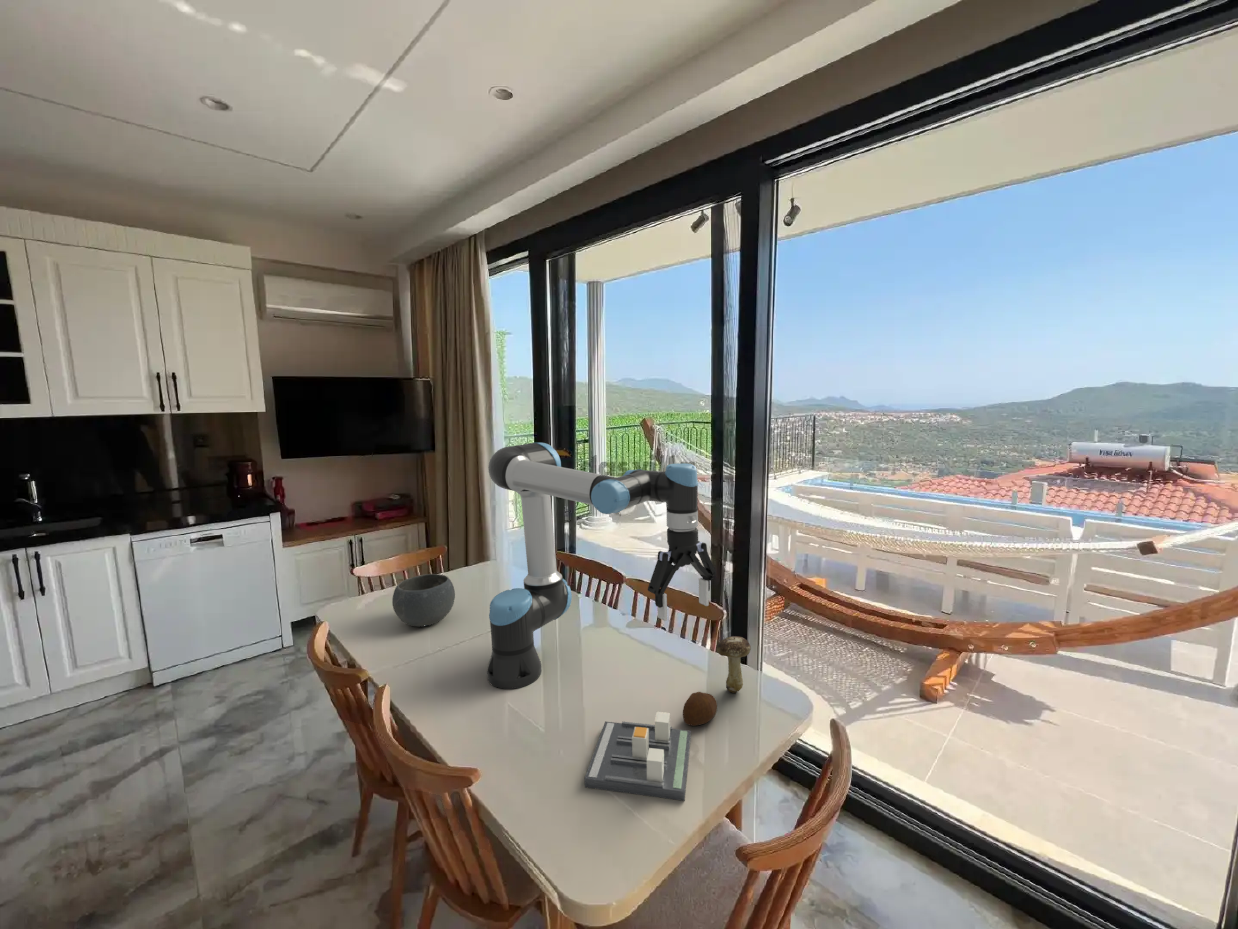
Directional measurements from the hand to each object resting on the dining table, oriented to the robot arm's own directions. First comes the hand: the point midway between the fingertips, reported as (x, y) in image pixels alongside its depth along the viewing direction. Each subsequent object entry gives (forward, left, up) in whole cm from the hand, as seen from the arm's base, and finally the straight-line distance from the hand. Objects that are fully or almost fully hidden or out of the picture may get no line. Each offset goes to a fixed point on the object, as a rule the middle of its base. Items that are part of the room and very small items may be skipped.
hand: (683, 611), depth 125 cm
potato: (+4, -6, -25) cm, 26 cm away
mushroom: (+12, +7, -25) cm, 28 cm away
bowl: (-94, +33, -25) cm, 102 cm away
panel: (-8, -22, -25) cm, 34 cm away
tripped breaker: (-8, -22, -22) cm, 32 cm away
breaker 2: (-4, -28, -22) cm, 36 cm away
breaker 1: (-4, -16, -22) cm, 28 cm away
